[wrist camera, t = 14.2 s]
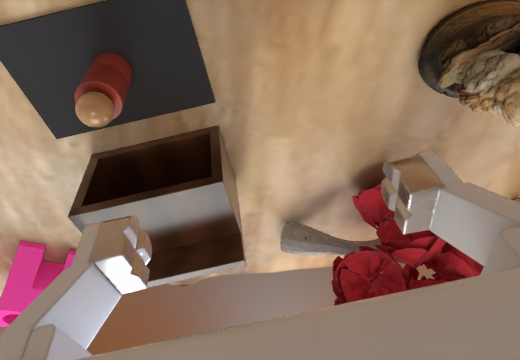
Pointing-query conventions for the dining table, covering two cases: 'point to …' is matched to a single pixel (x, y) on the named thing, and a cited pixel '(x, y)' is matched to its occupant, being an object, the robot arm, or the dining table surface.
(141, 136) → the dining table surface
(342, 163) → the dining table surface
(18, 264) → the bracket
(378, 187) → the bouquet
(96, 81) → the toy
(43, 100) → the felt mat
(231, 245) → the open-top box
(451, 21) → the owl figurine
